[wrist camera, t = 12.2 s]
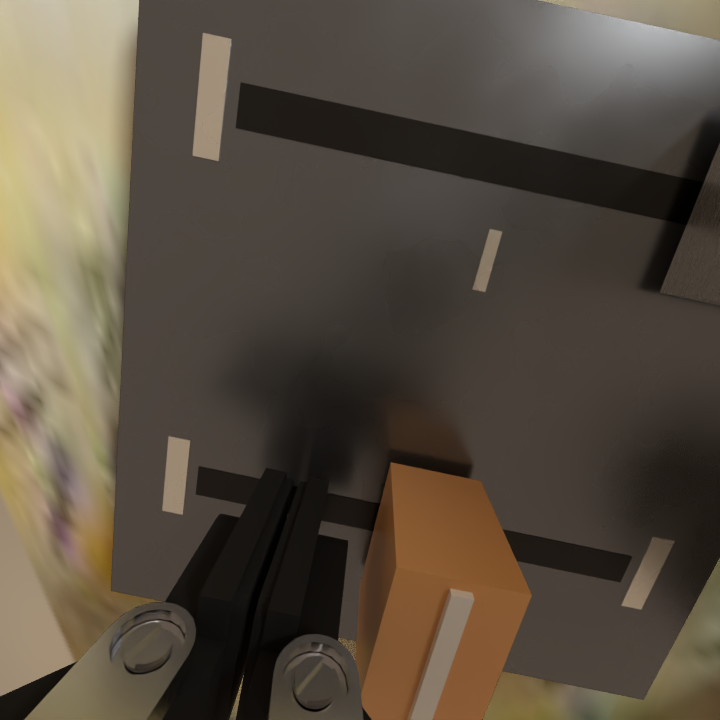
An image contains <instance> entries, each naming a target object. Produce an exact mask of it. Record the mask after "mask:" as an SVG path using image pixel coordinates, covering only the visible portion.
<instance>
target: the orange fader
mask: <svg viewBox="0 0 720 720" xmlns="http://www.w3.org/2000/svg"><path fill="white" fill-rule="evenodd" d="M531 596H532V594H531V592H530V590H529V588H528V585H527V583H526V581H525V579H524V577H523V574H522V572H521V570H520V568H519V565H518V563H517V561H516V559H515V556H514V554H513V552H512V550H511V547H510V545H509V543H508V541H507V538H506V536H505V534H504V532H503V529H502V527H501V525H500V523H499V521H498V518H497V516H496V514H495V512H494V509H493V507H492V505H491V503H490V500H489V498H488V496H487V494H486V491H485V489H484V487H483V485H482V482H481V481H478V480H473V479H468V478H464V477H459V476H454V475H449V474H445V473H440V472H435V471H430V470H425V469H421V468H416V467H411V466H406V465H401V464H397V463H392V462H391V463H390V467H389V471H388V475H387V479H386V483H385V487H384V491H383V495H382V499H381V503H380V507H379V511H378V515H377V519H376V523H375V526H374V530H373V534H372V538H371V542H370V546H369V550H368V554H367V558H366V562H365V566H364V570H363V574H362V578H361V582H360V589H359V606H358V623H357V640H356V657H355V662H356V665H357V669H358V673H359V679H360V689H361V700H362V707H363V708H364V710H365V711H366V712H367V714H368V715H369V717H370V718H371V719H372V720H483V717H484V715H485V712H486V710H487V707H488V705H489V702H490V699H491V697H492V694H493V692H494V689H495V687H496V684H497V682H498V679H499V677H500V674H501V672H502V669H503V667H504V664H505V662H506V659H507V657H508V654H509V652H510V649H511V647H512V644H513V642H514V639H515V637H516V634H517V632H518V629H519V626H520V624H521V621H522V619H523V616H524V614H525V611H526V609H527V606H528V604H529V601H530V599H531Z"/></svg>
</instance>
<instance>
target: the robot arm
mask: <svg viewBox="0 0 720 720" xmlns="http://www.w3.org/2000/svg"><path fill="white" fill-rule="evenodd" d="M329 482H330V481H326V480H322V479H317V478H312V477H309V480H308V482H303V481H300V482H299V485H298V488H297V491H296V494H295V496H294V499H293V502H292V505H291V508H290V511H289V514H288V510H289V504H290V499H291V494H292V489H293V483H294V479H289V478H287V472H284V471H280V470H275V469H270V468H266V469H265V471H264V473H263V475H262V476H261V478H260V480H259V482H258V484H257V486H256V488H255V490H254V492H253V493H252V495H251V497H250V499H249V501H248V503H247V505H246V507H245V509H244V510H243V512H242V514H241V516H240V517H235V516H231V515H226V514H219V515H218V517H217V518H216V519H215V521H214V523H213V524H212V526H211V527H210V529H209V531H208V532H207V534H206V536H205V537H204V539H203V540H202V542H201V544H200V545H199V547H198V549H197V550H196V552H195V553H194V555H193V557H192V558H191V560H190V562H189V563H188V565H187V566H186V568H185V570H184V571H183V573H182V574H181V576H180V578H179V579H178V581H177V583H176V584H175V586H174V587H173V589H172V591H171V592H170V594H169V596H168V597H167V599H166V600H165V602H154V603H148V604H145V605H142V606H138V607H136V608H134V609H132V610H130V611H129V612H127V613H125V614H123V615H122V616H121V617H120V618H119V619H117V620H116V621H115V622H114V623H113V624H112V625H111V626H110V627H109V628H108V629H107V630H106V631H105V632H104V633H103V634H102V636H101V637H100V638H99V639H98V640H97V641H96V642H95V643H94V644H93V645H92V646H91V648H90V649H89V650H88V651H87V652H86V653H85V654H84V655H83V656H82V657H81V658H80V660H79V661H77V662H75V663H73V664H71V665H68V666H66V667H64V668H62V669H60V670H58V671H55V672H53V673H51V674H49V675H46V676H44V677H42V678H40V679H38V680H36V681H33V682H31V683H29V684H27V685H25V686H22V687H20V688H18V689H16V690H14V691H12V692H9V693H7V694H5V695H3V696H0V720H229V718H230V715H231V712H232V709H233V706H234V703H235V699H236V696H237V693H238V690H239V687H240V684H241V681H242V678H243V683H242V689H241V694H240V700H239V706H238V711H237V717H236V720H372V719H371V718H370V717H369V715H368V714H367V712H366V711H365V710H364V708H363V707H362V700H361V689H360V679H359V673H358V669H357V665H356V662H355V660H354V659H353V657H352V655H351V653H350V652H349V651H348V650H347V649H346V648H345V647H344V646H343V645H342V644H341V643H340V642H338V636H339V626H340V617H341V608H342V598H343V589H344V580H345V570H346V561H347V552H348V540H343V539H339V538H334V537H329V536H325V535H320V534H318V533H319V528H320V524H321V519H322V514H323V510H324V505H325V501H326V496H327V491H328V487H329ZM287 515H288V516H287ZM243 675H244V677H243Z"/></svg>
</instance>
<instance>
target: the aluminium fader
mask: <svg viewBox="0 0 720 720" xmlns="http://www.w3.org/2000/svg"><path fill="white" fill-rule="evenodd" d="M660 293H664V294H669V295H673V296H678V297H683V298H687V299H692V300H697V301H701V302H706V303H711V304H716V305H720V143H719V146H718V148H717V151H716V153H715V156H714V158H713V161H712V163H711V166H710V168H709V171H708V173H707V176H706V178H705V181H704V183H703V186H702V188H701V191H700V193H699V196H698V198H697V201H696V203H695V206H694V208H693V211H692V213H691V215H690V218H689V220H688V223H687V225H686V228H685V230H684V233H683V235H682V238H681V240H680V243H679V245H678V248H677V250H676V253H675V255H674V258H673V260H672V263H671V265H670V268H669V270H668V273H667V275H666V278H665V280H664V283H663V285H662V288H661V290H660Z"/></svg>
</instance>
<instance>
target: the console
mask: <svg viewBox="0 0 720 720" xmlns="http://www.w3.org/2000/svg"><path fill="white" fill-rule="evenodd" d="M719 143H720V40H716V39H711V38H707V37H702V36H698V35H693V34H689V33H684V32H679V31H675V30H670V29H666V28H661V27H657V26H652V25H648V24H643V23H638V22H634V21H629V20H625V19H620V18H616V17H611V16H607V15H602V14H597V13H593V12H588V11H584V10H579V9H575V8H570V7H565V6H561V5H556V4H552V3H547V2H543V1H538V0H139V17H138V37H137V58H136V79H135V100H134V120H133V141H132V162H131V182H130V203H129V224H128V245H127V265H126V286H125V307H124V327H123V348H122V369H121V390H120V410H119V431H118V452H117V472H116V493H115V514H114V534H113V555H112V576H111V591H115V592H120V593H124V594H129V595H134V596H139V597H144V598H149V599H154V600H159V601H164V602H165V600H166V599H167V597H168V596H169V594H170V592H171V591H172V589H173V587H174V586H175V584H176V583H177V581H178V579H179V578H180V576H181V574H182V573H183V571H184V570H185V568H186V566H187V565H188V563H189V562H190V560H191V558H192V557H193V555H194V553H195V552H196V550H197V549H198V547H199V545H200V544H201V542H202V540H203V539H204V537H205V536H206V534H207V532H208V531H209V529H210V527H211V526H212V524H213V523H214V521H215V519H216V518H217V517H218V515H219V514H226V515H231V516H235V517H240V516H241V514H242V512H243V510H244V509H245V507H246V505H247V503H248V501H249V499H250V497H251V495H252V493H253V492H254V490H255V488H256V486H257V484H258V482H259V480H260V478H261V476H262V475H263V473H264V471H265V469H266V468H270V469H275V470H280V471H284V472H287V478H289V479H294V483H293V489H292V494H291V499H290V504H289V510H288V514H289V511H290V508H291V505H292V502H293V499H294V496H295V494H296V491H297V488H298V485H299V482H300V481H303V482H308V480H309V477H312V478H317V479H322V480H326V481H330V482H329V487H328V491H327V496H326V501H325V505H324V510H323V514H322V519H321V524H320V528H319V533H318V534H320V535H325V536H329V537H334V538H339V539H343V540H348V552H347V561H346V570H345V580H344V589H343V598H342V608H341V617H340V626H339V636H338V637H339V638H344V639H349V640H354V641H356V640H357V623H358V606H359V589H360V582H361V578H362V574H363V570H364V566H365V562H366V558H367V554H368V550H369V546H370V542H371V538H372V534H373V530H374V526H375V523H376V519H377V515H378V511H379V507H380V503H381V499H382V495H383V491H384V487H385V483H386V479H387V475H388V471H389V467H390V463H391V462H392V463H397V464H401V465H406V466H411V467H416V468H421V469H425V470H430V471H435V472H440V473H445V474H449V475H454V476H459V477H464V478H468V479H473V480H478V481H481V482H482V485H483V487H484V489H485V491H486V494H487V496H488V498H489V500H490V503H491V505H492V507H493V509H494V512H495V514H496V516H497V518H498V521H499V523H500V525H501V527H502V529H503V532H504V534H505V536H506V538H507V541H508V543H509V545H510V547H511V550H512V552H513V554H514V556H515V559H516V561H517V563H518V565H519V568H520V570H521V572H522V574H523V577H524V579H525V581H526V583H527V585H528V588H529V590H530V592H531V594H532V596H531V599H530V601H529V604H528V606H527V609H526V611H525V614H524V616H523V619H522V621H521V624H520V626H519V629H518V632H517V634H516V637H515V639H514V642H513V644H512V647H511V649H510V652H509V654H508V657H507V659H506V662H505V664H504V667H503V669H502V671H505V672H510V673H515V674H520V675H525V676H529V677H534V678H539V679H544V680H549V681H554V682H559V683H564V684H568V685H573V686H578V687H583V688H588V689H593V690H598V691H603V692H608V693H612V694H617V695H622V696H627V697H632V698H637V699H642V700H644V698H645V696H646V694H647V692H648V690H649V688H650V687H651V685H652V683H653V681H654V679H655V677H656V675H657V674H658V672H659V670H660V668H661V666H662V664H663V662H664V660H665V659H666V657H667V655H668V653H669V651H670V649H671V647H672V646H673V644H674V642H675V640H676V638H677V636H678V634H679V632H680V631H681V629H682V627H683V625H684V623H685V621H686V619H687V618H688V616H689V614H690V612H691V610H692V608H693V606H694V605H695V603H696V601H697V599H698V597H699V595H700V593H701V591H702V590H703V588H704V586H705V584H706V582H707V580H708V578H709V577H710V575H711V573H712V571H713V569H714V567H715V565H716V563H717V562H718V560H719V558H720V305H716V304H711V303H706V302H701V301H697V300H692V299H687V298H683V297H678V296H673V295H669V294H664V293H660V290H661V288H662V285H663V283H664V280H665V278H666V275H667V273H668V270H669V268H670V265H671V263H672V260H673V258H674V255H675V253H676V250H677V248H678V245H679V243H680V240H681V238H682V235H683V233H684V230H685V228H686V225H687V223H688V220H689V218H690V215H691V213H692V211H693V208H694V206H695V203H696V201H697V198H698V196H699V193H700V191H701V188H702V186H703V183H704V181H705V178H706V176H707V173H708V171H709V168H710V166H711V163H712V161H713V158H714V156H715V153H716V151H717V148H718V146H719ZM287 516H288V515H287Z"/></svg>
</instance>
